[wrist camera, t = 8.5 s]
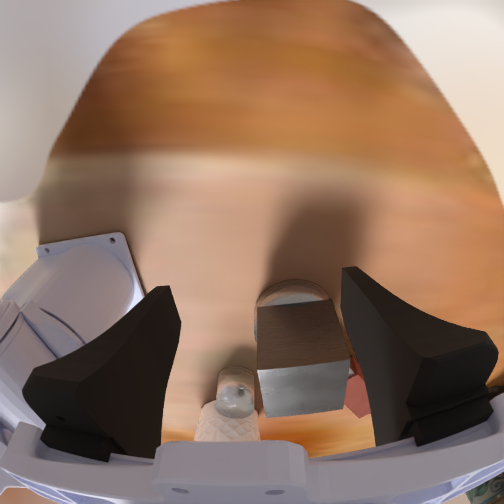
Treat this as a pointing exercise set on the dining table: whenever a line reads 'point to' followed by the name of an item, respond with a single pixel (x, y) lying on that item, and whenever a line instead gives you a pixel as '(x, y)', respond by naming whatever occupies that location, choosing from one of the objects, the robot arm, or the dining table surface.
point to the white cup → (225, 426)
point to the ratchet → (311, 292)
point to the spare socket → (235, 392)
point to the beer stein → (499, 487)
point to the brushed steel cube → (301, 358)
